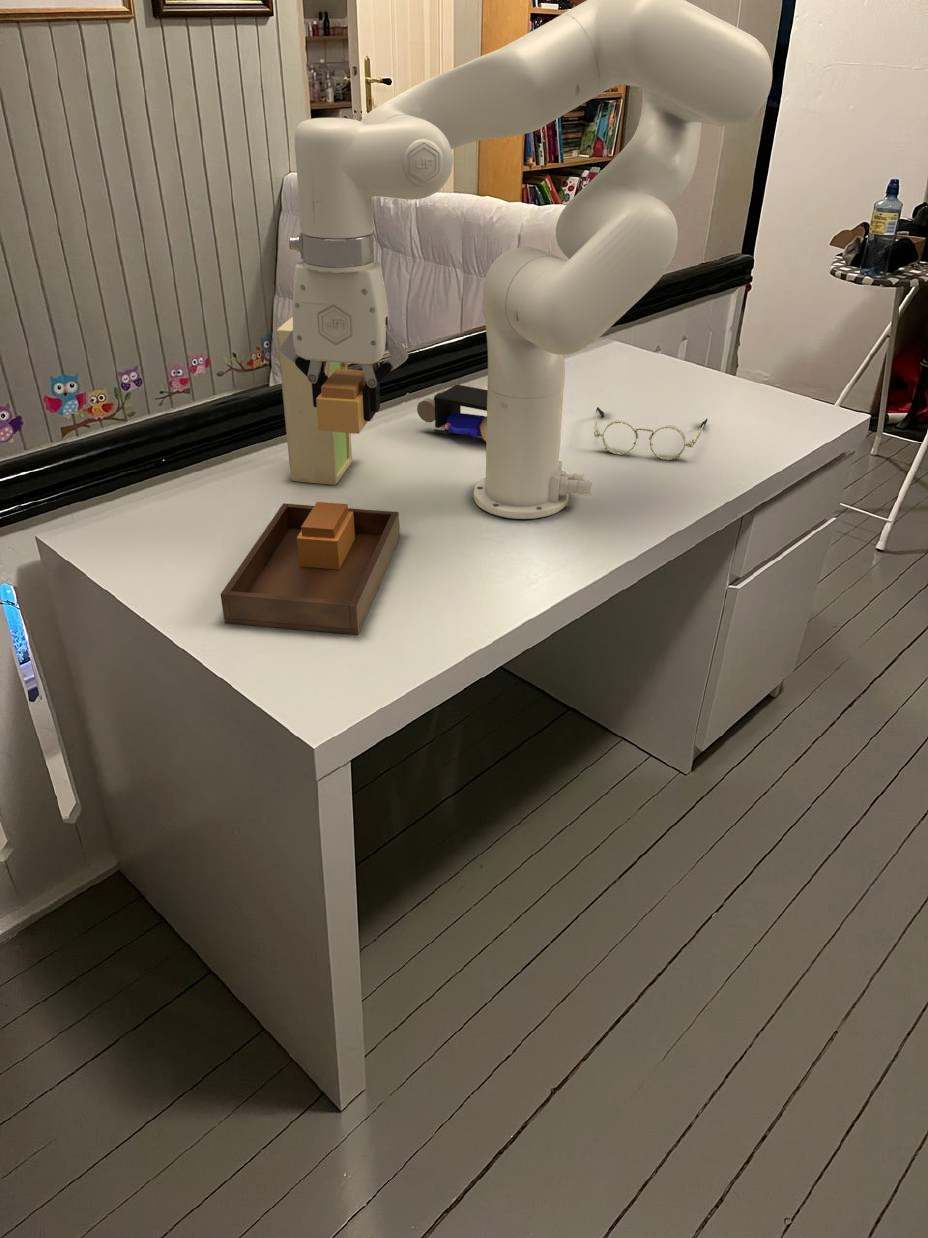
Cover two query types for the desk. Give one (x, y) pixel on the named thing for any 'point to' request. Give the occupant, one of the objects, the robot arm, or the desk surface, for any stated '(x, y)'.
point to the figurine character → (456, 411)
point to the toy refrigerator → (309, 425)
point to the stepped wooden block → (342, 402)
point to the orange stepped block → (326, 536)
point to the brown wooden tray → (310, 576)
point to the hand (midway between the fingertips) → (347, 413)
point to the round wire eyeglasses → (649, 437)
